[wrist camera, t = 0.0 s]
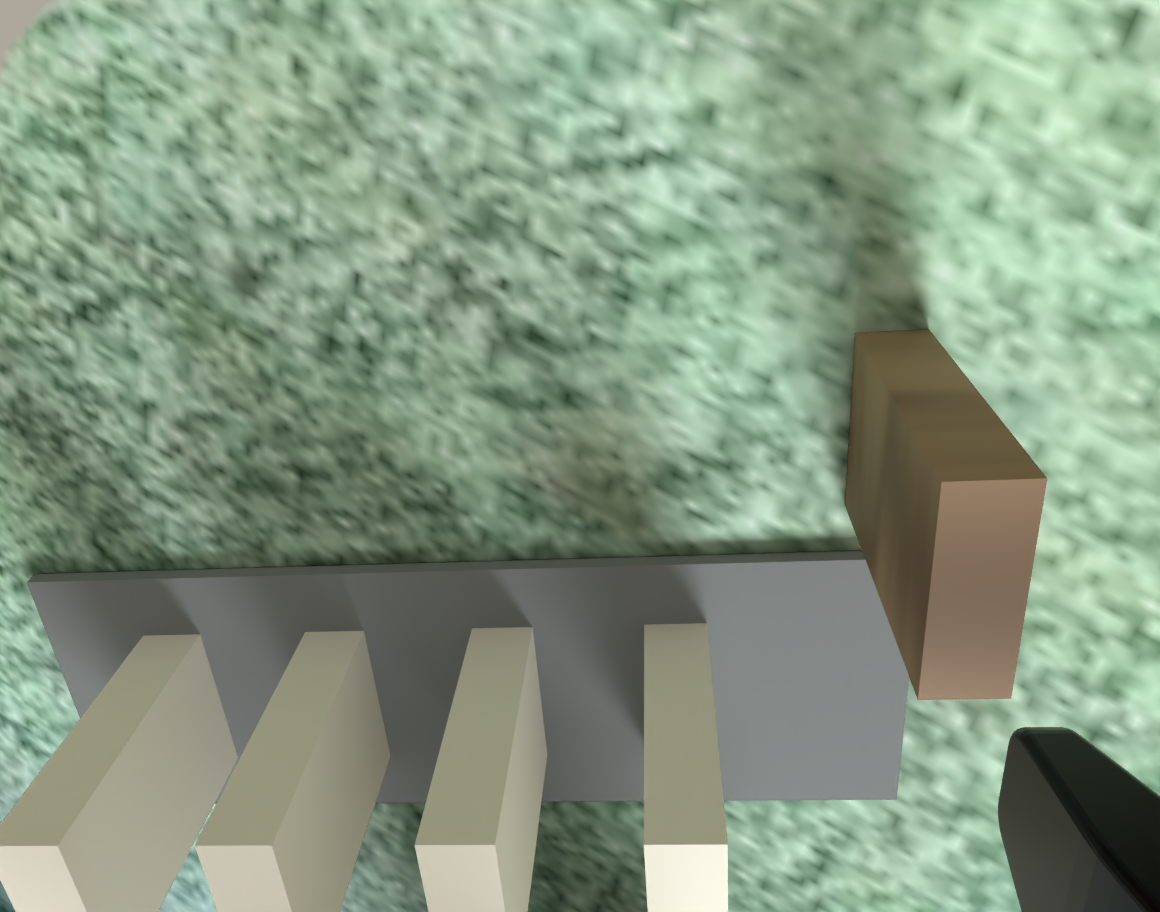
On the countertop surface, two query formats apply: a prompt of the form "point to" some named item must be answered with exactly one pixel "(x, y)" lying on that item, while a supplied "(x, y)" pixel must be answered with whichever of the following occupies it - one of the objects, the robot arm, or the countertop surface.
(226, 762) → the tile
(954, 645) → the walnut domino
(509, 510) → the countertop surface
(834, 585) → the mat
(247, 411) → the countertop surface
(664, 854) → the tile
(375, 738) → the tile
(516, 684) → the tile
